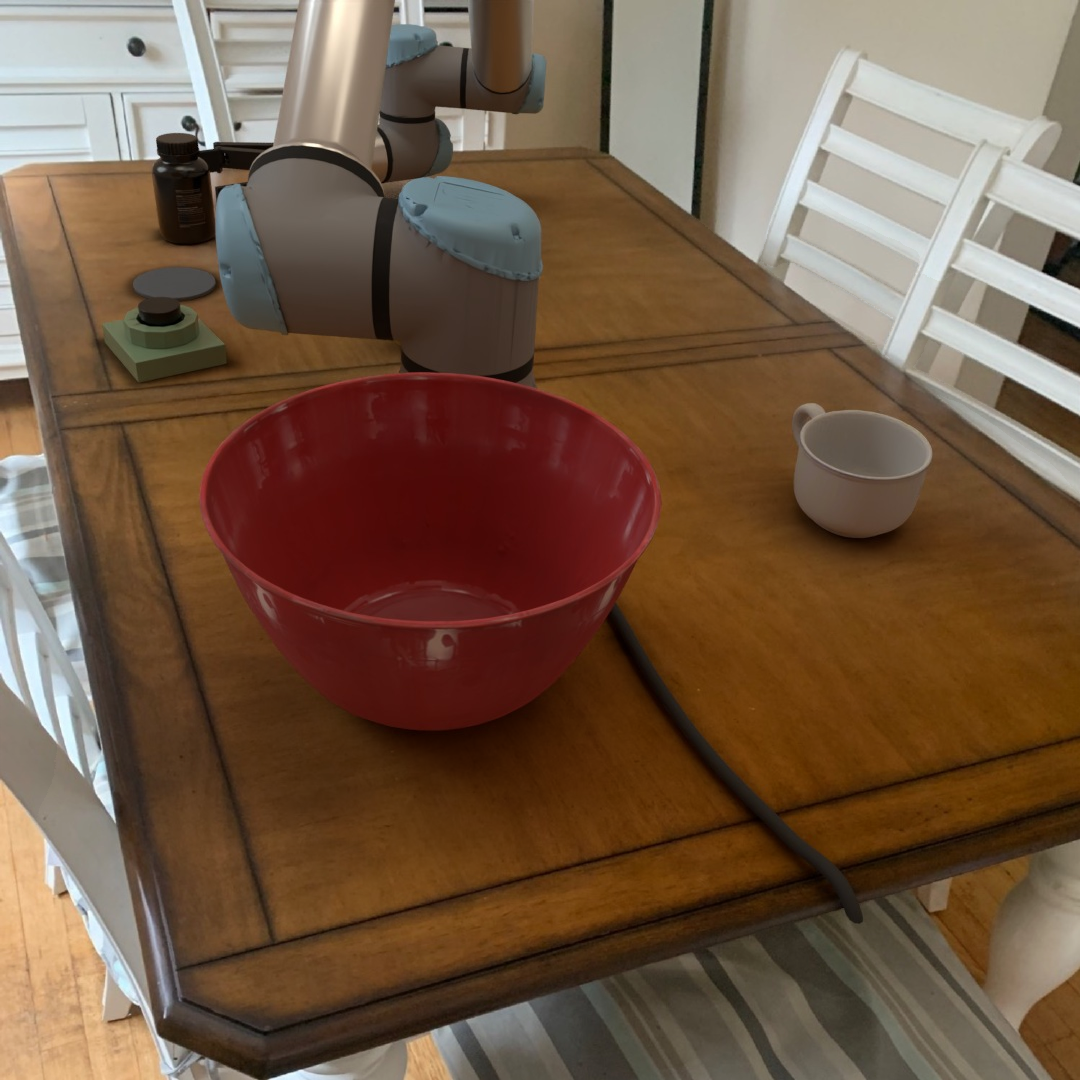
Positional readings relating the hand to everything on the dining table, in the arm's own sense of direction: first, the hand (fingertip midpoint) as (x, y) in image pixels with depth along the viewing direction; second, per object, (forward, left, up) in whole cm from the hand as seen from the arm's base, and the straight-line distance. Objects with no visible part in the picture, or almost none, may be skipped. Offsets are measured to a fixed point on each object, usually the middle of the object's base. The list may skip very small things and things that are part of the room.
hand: (192, 182), depth 138 cm
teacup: (-85, -25, -7) cm, 89 cm away
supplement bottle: (0, +1, -7) cm, 7 cm away
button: (-30, +15, -3) cm, 34 cm away
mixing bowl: (-84, +16, -7) cm, 86 cm away
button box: (-30, +15, -7) cm, 34 cm away
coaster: (-14, +8, -7) cm, 18 cm away
